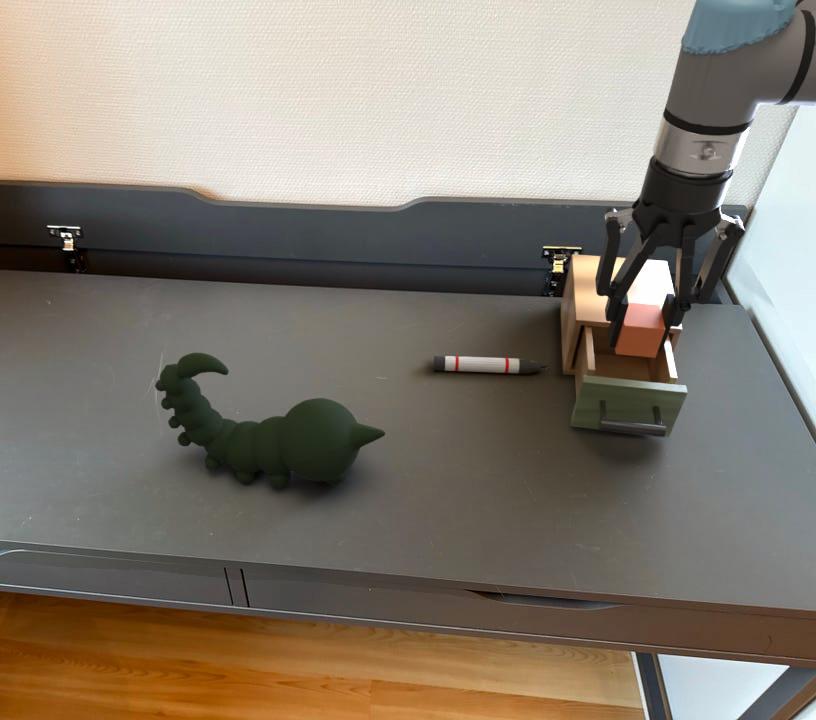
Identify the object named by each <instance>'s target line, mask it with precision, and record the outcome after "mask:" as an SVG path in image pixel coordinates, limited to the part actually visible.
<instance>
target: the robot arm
mask: <svg viewBox="0 0 816 720" xmlns="http://www.w3.org/2000/svg"><path fill="white" fill-rule="evenodd" d="M693 5H694V6H693V8H692V9H691V14H690V15H689V16H690V17H689V19H688V23H687V25H686V29H685V31H684V34H683V36H682V37H681V39H680V40H681V41H680V44H681V45H680V49H679V53H678V58H677V61H676V65H675V69H674V74H673V77H672V81H671V85H670V89H669V92H668V96H667V99H666V103H665V107H664V110H663V112H662V116H661V119H660V122H659V126H658V130H657V133H656V136H655V139H654V145H653V147H652V154H653V155H652V156H651V157H650V158H649V162H648V165H647V169H646V172H645V176H644V180H643V182H642V183H643V184H642V187H641V191H640V194H639V196H638V197H637V199H635V201H634V202H633V203H632V205H631V207H629V208H625V209H621V210H616V208H614V207H608V208H607V209H605V211H604V213H603V214H604V223H605V229H606V231H605V235H604V239H603V242H602V243H603V244H602V248H601V253H600V255H599V256H600V261H599V265H598V269H597V274H596V278H595V281H596V292H597V295H599V296H607V297H608V300H607V304H606V307H605V317H606V321H611V322H610V325H609V329H608V340H609V347H615V348H616V345H617V341H618V338H619V335H620V331H621V328H622V325H623V321H624V319H625V316H626V312H627V309H628V306H629V302H628V295H627V292H628V290H629V289H630V287H631V285H632V284H633V282H634V281H635V279H636V277H637V276H638V274H639V272H640V271H641V269H642V267H643V266H644V264H645V262H646V261H647V260H649V258H650V257H652V256H653V254H654V253H655V252H656V250H657V248H662V247H671V248H674V249H676V264H675V266H676V267H675V287H674V288H675V289H674V294H671V293H667V295H666V297H665V300H664V303H663V306H662V309H661V310H662V315H663V320H664V325H665V332H664V335H663V337H662V340H661V343H660V346H659V349H658V351H657V352H662V350H663V347H664V344H665V341H666V339H667V336H668V333H669V330H670V328H671V327H678V326H679V325H680V324H681V325H682V322H683V320H684V317H685V314H686V313H687V312H689V311H691V309H692V304H696V303H698V304H699V305H707V304H709V302H710V300H711V298H712V296H713V293H714V291H715V289H716V286H717V284H718V282H719V280H720V276H721V274H722V273H723V270H724V267H725V265H726V263H727V260H728V259H729V256H730V254H731V251H732V248H734V246H736V244H737V243H738V242H739V241H740V240H741V239H742V238H743V237H744V235H745V234H746V230H745V228H744V225H743V221H742V220H741V218H740V216H739V215H736V214H735V215H734V214H733V215H730V216H728V215H726V214H723V213H722V211H721V210H722V209H721V207H722V205H723V202H724V199H725V197H726V194H727V191H728V189H729V186H730V183H731V181H732V179H733V175H734V169H733V168H734V167H735V166H736V165H737V163H738V160H739V158H740V156H741V152H742V150H743V147H744V145H745V142H746V138H747V136H748V134H749V132H750V131H749V130H750V128H751V126H752V125H753V123H754V119H755V116H756V113H757V111H758V109H759V107H760V105H772V106H785V105H786V106H803V107H804V106H805V107H806V106H807V107H816V0H695V2H694V4H693ZM631 222H633V223H634V224H635V226H636V227H637V230H638V233H637V235H636V239H635V241H634V243H633V244H632V247H631V248H630V250H629V252H628V254H627V255H626V257H625V258H626V259H625V260H624V262H623V264H622V266H621V267H620V269H619V271H618V272H617V274H616V276H615V278H614V279H613V281H612V280H611V278H612V274H613V270H614V266H615V262H616V258H617V257H618V253H619V250H620V245H621V234H624V233H625V232H626V230H627V229H628V225H629V224H630V223H631ZM712 229H714V236H713V238H712V240H711V243H710V246H709V248H708V251H707V253H706V255H705V258H704V260H703V263H702V266H701V268H700V271H699V273H698V276H697V278H696V281H695V282H694V286H692V283H693V270H694V268H693V267H694V257H695V253H696V242H697V241H698V240H699V239H701V238H702V237H703V236H705V235H706V234H707V233H708V232H710V231H711V230H712ZM674 295H675V296H674Z"/></svg>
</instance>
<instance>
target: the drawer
mask: <svg viewBox="0 0 816 720" xmlns="http://www.w3.org/2000/svg"><path fill="white" fill-rule="evenodd" d="M608 329H609V327H597V326H586V325H581V328H580V333H579V337H578V341H577V345H576V349H575V353H574V366H575V375H574V383H575V397H576V398H575V402H574V403H575V404H574V407H573V410H572V415H571V418H570V423H571V425H570V426H571V427H573V428H584V429H593V430H599V431H604V432H614V433H622V434H629V435H639V436H648V437H655V438H670V436H671V434H672V431H673V429H674V426H675V424H676V421H677V419H678V416H679V414H680V412H681V409H682V407H683V406H684V403H685V400H686V397H687V396H688V388H687V386H686V385H682V384H676V383H677V380H678V375H677V370H676V364H675V360H674V353H673V354H672V349H671V344H670V339H669V334H668V336H667V339H666V341H665V344H664V347H663V350H662V352H657V354H656V357H655V358H652V357H642V356H632V355H621V354H616V351H615V347H609V340H608Z"/></svg>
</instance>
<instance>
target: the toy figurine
mask: <svg viewBox="0 0 816 720" xmlns="http://www.w3.org/2000/svg"><path fill="white" fill-rule="evenodd" d="M205 373H216V374H220V375H222V376H228V375H229V373H230V371H229V368H228V367H227V366H226V365H225V364H224V363H223V362H222V361H221V360H220V359H218V358H217V357H215V356H213V355H211V354H207V353H205V352H192V353H187V354H185V355H183V356H181V357H180V358H179V360H178V361H177V363H171V364H166V365H165V366H164V368H163V369H162V371H161V372H160V375H159V379H157V380H156V382H155V384H154V386H155V389H156V391H157V392H165V396H164V397H163V398H162V399H161V401H160V405H161V407H162V409H164V410H166V411H168V410H171V409H173V410H174V411H173V412H174V413H173V414H174V415H171V417H170V418H169V419H168V421H167V423H168V426H169V427H170V428H171V429H178V428H179V427H182V428H184V431H182V432H181V433H179V435H178V436H177V443H178V445H180V446H181V447H189V446H190V445H191V444H194V445H196V446H198V447H203V448H204V450H205V452H206V453H207V454H206V456H205V458H204V467H205V468H206V469H207V470H209V471H216V470H219V469H220V468H221V466H222V462H223V463H228V465H229V466H230V467H231V468H233V469H234V470H236V477H237V480H238V481H239V482H241V483H243V484H249V483H250V482H251V481H252V480H253V479H254V477H255V473H257V472H259V471H261V470H262V471H264V472H265V473H268V480H269V482H270V485H272V486H274V487H277V488H282V487H286V486H287V485H288V484H289V483H290V480H291V472H292V473H293V474H295V475H297V476H298V477H300V478H301V479H305V480H309V481H314V482H325V483H327V484H328V485H332V486H333V485H335V486H336V485H339V484H341V483H342V482H343V481H344V480H345V478H346V475H347V471H348V470H349V469H350V468H351V467H352V465H353V464H354V463H355V462H356V459H357V458H358V455H359V453H360V450H361V448H362V447H364V446H366V445H370V444H371V443H373V442H375V441H377V440H380V439H381V438H383V437H384V436H386V431H385V430H383V429H380V428H377V427H372V426H369V425H366V424H362V423H359V422H358V421H357V419H356V417H355V416H354V415H353V413H352V412H351V411H350V410H349V409H348V408H347V407H346V406H344V405H343V404H341V403H340V402H337V401H336V400H333V399H329V398H326V397H325V398H324V397H316V398H310V399H305V400H303V401H301V402H299V403H297V404H296V405H294V406H292V407H291V408H290V409H289V411H288V412H287V413H286V414H285V415H284V416H282V415H275V416H270V417H268V418H265V419H263V420H262V421H261V422H257V421H253V420H244V421H240V422H237V421H235V420H234V419H230V418H223V416H222V414H221V413H220V411H218V410H216V409H215V408H212V405H211V402H210V400H209V399H208V398H207V397H206V396H205V395H204V394H202V391H201V387H200V384H198V382H197V381H196V380H194V379H193V378H194V377H196V376H198V375H200V374H205Z"/></svg>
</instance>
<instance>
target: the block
mask: <svg viewBox="0 0 816 720" xmlns="http://www.w3.org/2000/svg"><path fill="white" fill-rule="evenodd" d="M664 332H665V325H664V320H663V315H662V310H661V305H652V304H640V303H629V306H628V309H627V312H626V316H625V319H624V321H623V325H622V328H621V331H620V335H619V338H618V341H617V345H616V348H615V351H616V354H621V355H632V356H642V357H652V358H655V357H656V354H657V351H658V349H659V346H660V343H661V340H662V337H663V335H664Z"/></svg>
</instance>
